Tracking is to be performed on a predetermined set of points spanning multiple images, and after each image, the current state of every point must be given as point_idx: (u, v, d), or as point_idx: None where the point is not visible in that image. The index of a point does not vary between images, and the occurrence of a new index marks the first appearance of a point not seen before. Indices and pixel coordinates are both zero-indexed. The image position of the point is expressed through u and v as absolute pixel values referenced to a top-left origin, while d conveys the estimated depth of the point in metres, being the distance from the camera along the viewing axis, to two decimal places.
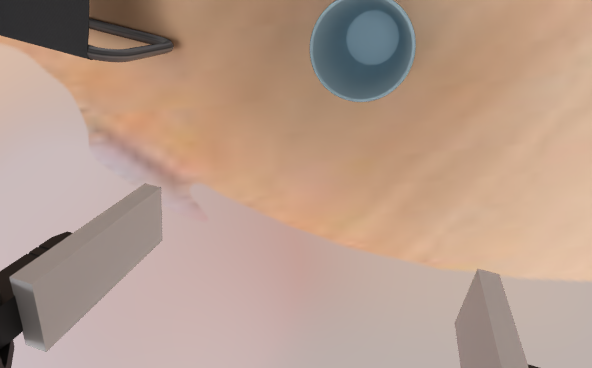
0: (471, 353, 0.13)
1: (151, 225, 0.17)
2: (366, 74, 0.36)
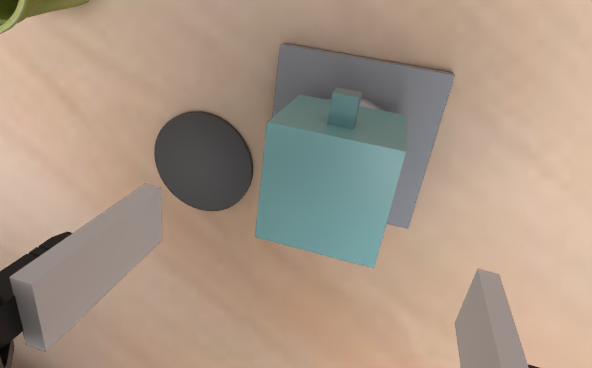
0: (471, 353, 0.13)
1: (151, 225, 0.17)
2: None
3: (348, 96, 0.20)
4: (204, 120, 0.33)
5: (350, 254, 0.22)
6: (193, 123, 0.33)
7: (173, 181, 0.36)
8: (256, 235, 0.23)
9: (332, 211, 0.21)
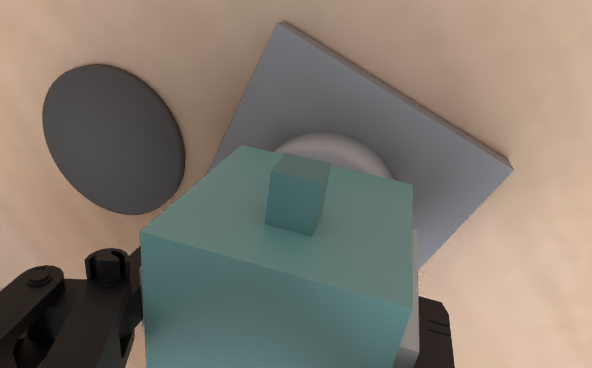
0: None
1: None
2: None
3: (301, 178, 0.11)
4: (128, 88, 0.21)
5: None
6: (111, 85, 0.21)
7: (63, 153, 0.24)
8: None
9: None
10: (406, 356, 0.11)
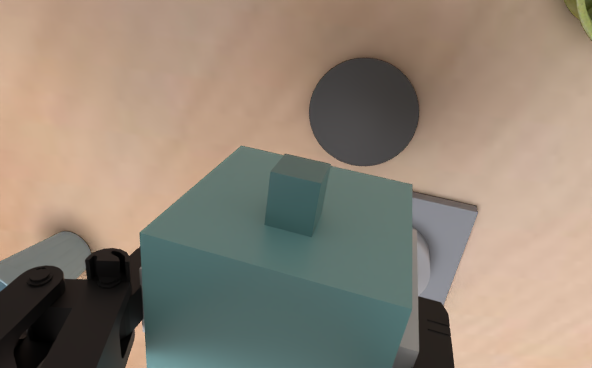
0: None
1: None
2: None
3: (300, 179, 0.11)
4: (410, 126, 0.32)
5: None
6: (407, 113, 0.32)
7: (340, 78, 0.32)
8: None
9: None
10: (406, 356, 0.11)
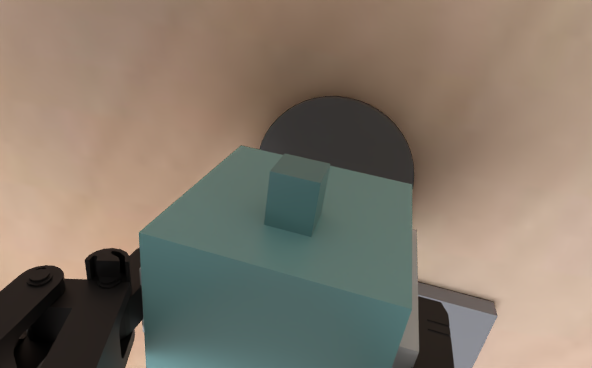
0: None
1: None
2: None
3: (300, 179, 0.11)
4: None
5: None
6: (397, 178, 0.22)
7: (299, 124, 0.22)
8: None
9: None
10: (406, 356, 0.11)
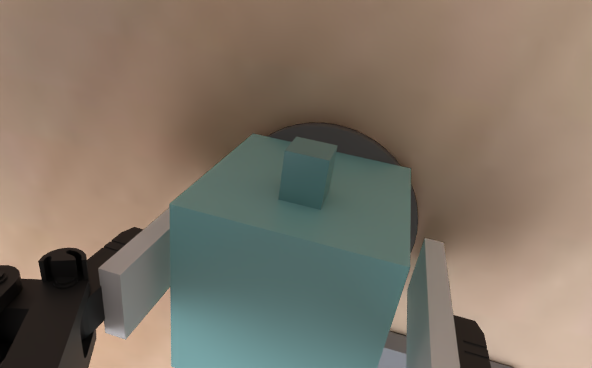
0: (413, 311, 0.15)
1: None
2: None
3: (311, 157, 0.12)
4: None
5: None
6: None
7: None
8: (173, 364, 0.15)
9: (286, 345, 0.13)
10: None
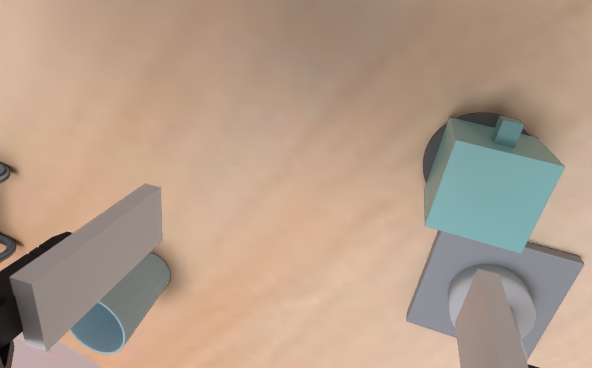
0: (471, 353, 0.13)
1: (151, 225, 0.17)
2: None
3: (515, 123, 0.28)
4: None
5: (503, 242, 0.29)
6: None
7: None
8: (426, 225, 0.30)
9: (495, 208, 0.28)
10: None
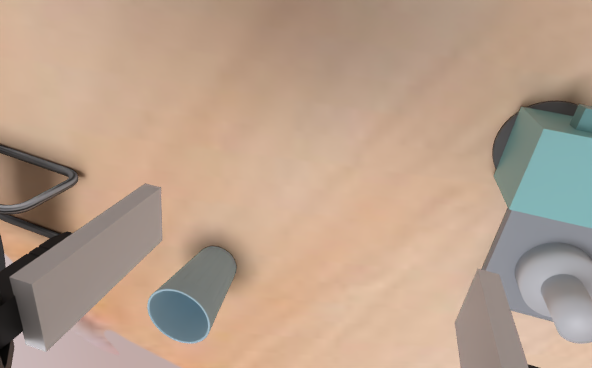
0: (471, 353, 0.13)
1: (151, 225, 0.17)
2: None
3: None
4: None
5: (585, 221, 0.32)
6: None
7: None
8: (510, 208, 0.33)
9: (578, 190, 0.31)
10: None
